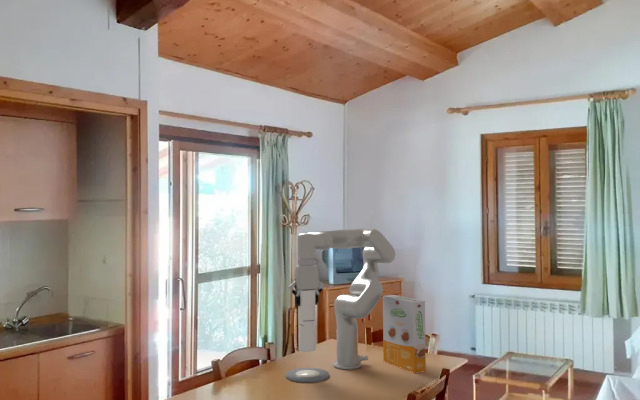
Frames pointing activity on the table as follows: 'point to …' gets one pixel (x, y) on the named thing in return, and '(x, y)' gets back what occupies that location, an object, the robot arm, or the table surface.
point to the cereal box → (404, 332)
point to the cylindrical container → (307, 321)
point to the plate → (307, 375)
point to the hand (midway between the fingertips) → (306, 304)
